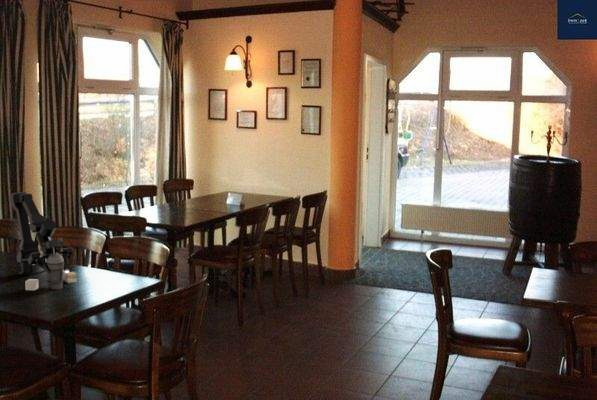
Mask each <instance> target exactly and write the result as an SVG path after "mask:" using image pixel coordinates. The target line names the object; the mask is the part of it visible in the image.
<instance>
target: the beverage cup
mask: <svg viewBox="0 0 597 400" xmlns="http://www.w3.org/2000/svg"><path fill="white" fill-rule="evenodd" d="M46 263H47V265H48V267H49V270H50V274H49V273H48V274H49V281H50V286H51V290H61V289H63V284H64V281H63V266H64V259H63V257H62V256H61V255H60V254H58V253H55V251H54V247H53V254H51V255H50V256H49V257H48V259H46Z"/></svg>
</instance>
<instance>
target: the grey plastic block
mask: <svg viewBox="0 0 597 400" xmlns="http://www.w3.org/2000/svg"><path fill="white" fill-rule="evenodd" d="M24 285H25V287H24V288H25V291H36V290H38V289H39V288H40V287H39V285H40V284H39V279H38V278H37V279H35V278H29V279H27V280H25V283H24Z"/></svg>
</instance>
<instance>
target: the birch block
mask: <svg viewBox="0 0 597 400" xmlns="http://www.w3.org/2000/svg"><path fill="white" fill-rule="evenodd" d="M77 274H78V273H77V272H75V271H69V272H68V273H64V275H65V281H64V282H65V283H67V284H72V283H76V282H78V279H77V278H78V276H77Z"/></svg>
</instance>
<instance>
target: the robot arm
mask: <svg viewBox="0 0 597 400" xmlns="http://www.w3.org/2000/svg"><path fill="white" fill-rule="evenodd" d="M33 197H34V196H33V194H32V193H27V192H26V191H22V192H21V191H20V192H12V193H11V194H10V195H9V196H8V200H9V202H10V205H11V208H12V209H13V210H14V211H15V212H16V216H17V222H18V223H17V224H18V228H19V234H20V240H21V241H20V244H19V246H18V252H17V255H16V262H18V263H19V264H20V272H19V273H17V274H18V275H22V276H23V275H24V276H31V275H34V274H35V275H36V274H37V273H39V270H37V266H38V267H39V268H40V269H42V270H43V271H45V272H46V273H47V274H50V270H49V267H48V265H47V259H48V257H49V256H50V255H51V254H53V247H54V251H55V253H58V254H60V255H61V256H62V257H63V259H64V266H63V270H64V271H65V270H66V269H67V264H66V263H67V261H68V260H71V259H72V257H73V254H74V252H75V251H74V249H73V248H72V247H70V246H69V247H66V248H65V247H64V248H62V250H61V251H59V249H60V247H61V246H63V245H64V240H63V237H59V238H58V237H57V238H56V239H53V238H52V236H53V234H55V230H56V228H57V223H56V222H55V220H53V219H50V217H46V216H45V215H42V214H41V213H40V211H39V209H38V207H37V205H36V203H35V201H34V198H33ZM32 233H33V234H34V233H35V234H36V233H37V234H36V239H35V240H36V241H34V239H33V237H32ZM37 242H38V243H37ZM38 244H39V246H40V248H39V247H38ZM41 252H42V253H41Z"/></svg>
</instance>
